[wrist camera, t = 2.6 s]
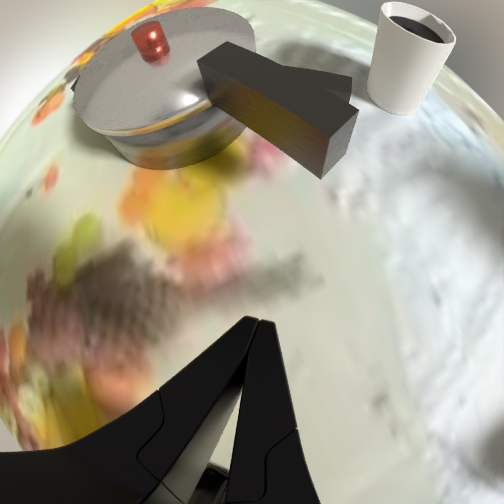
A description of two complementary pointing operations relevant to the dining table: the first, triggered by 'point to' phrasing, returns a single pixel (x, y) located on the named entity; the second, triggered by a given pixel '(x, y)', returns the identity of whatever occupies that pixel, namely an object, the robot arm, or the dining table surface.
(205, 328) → the dining table surface
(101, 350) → the dining table surface
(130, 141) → the pot
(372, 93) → the white cup
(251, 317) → the robot arm
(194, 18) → the lid
